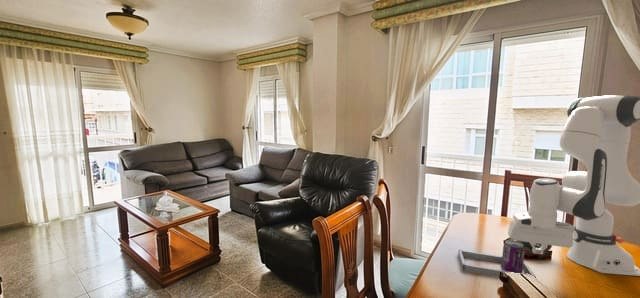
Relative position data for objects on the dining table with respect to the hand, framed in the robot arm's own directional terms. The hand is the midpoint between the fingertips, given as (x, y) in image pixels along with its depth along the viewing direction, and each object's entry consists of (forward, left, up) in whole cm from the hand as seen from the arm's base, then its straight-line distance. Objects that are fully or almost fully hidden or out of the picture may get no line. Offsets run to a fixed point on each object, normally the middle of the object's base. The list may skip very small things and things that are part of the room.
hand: (537, 253), depth 107 cm
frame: (+14, 0, -9) cm, 17 cm away
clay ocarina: (-4, -18, -10) cm, 21 cm away
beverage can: (+8, 0, -10) cm, 12 cm away
